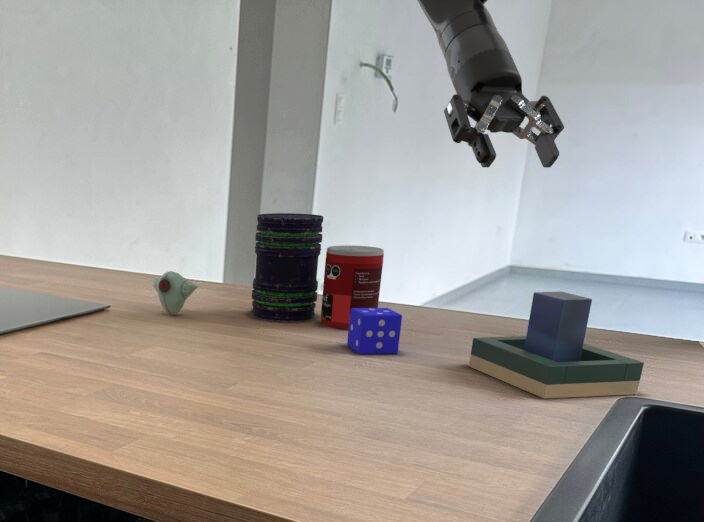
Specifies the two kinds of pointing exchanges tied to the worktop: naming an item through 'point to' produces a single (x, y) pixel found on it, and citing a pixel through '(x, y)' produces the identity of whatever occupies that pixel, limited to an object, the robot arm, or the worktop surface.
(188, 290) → the robot head
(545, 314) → the block
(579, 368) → the tray
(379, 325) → the die
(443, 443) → the worktop surface
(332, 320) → the canned food
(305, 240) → the storage jar
